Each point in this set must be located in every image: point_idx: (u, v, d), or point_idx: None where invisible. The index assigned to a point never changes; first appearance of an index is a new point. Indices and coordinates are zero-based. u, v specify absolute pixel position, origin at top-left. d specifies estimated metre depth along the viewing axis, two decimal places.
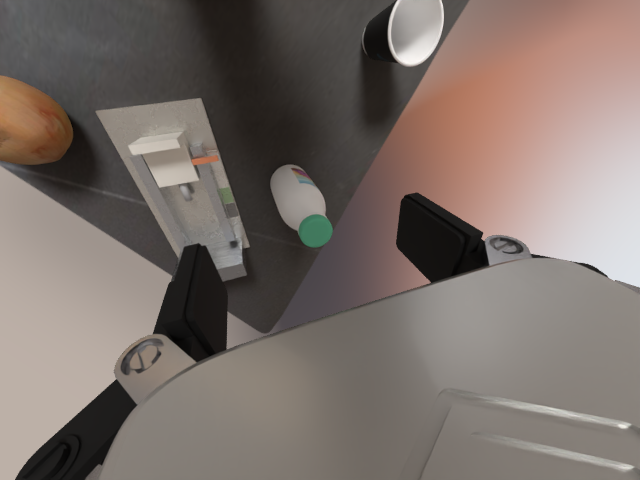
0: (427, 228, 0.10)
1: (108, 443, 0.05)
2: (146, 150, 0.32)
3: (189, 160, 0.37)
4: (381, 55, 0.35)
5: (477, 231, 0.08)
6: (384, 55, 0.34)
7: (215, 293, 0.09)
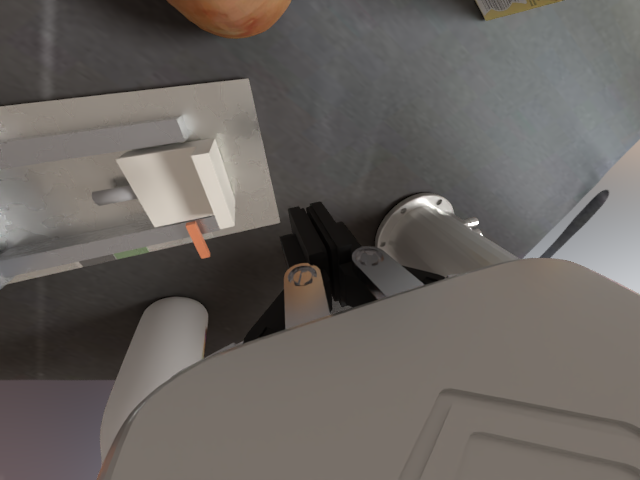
0: None
1: None
2: (205, 180, 0.17)
3: (192, 217, 0.22)
4: None
5: (347, 242, 0.08)
6: None
7: None
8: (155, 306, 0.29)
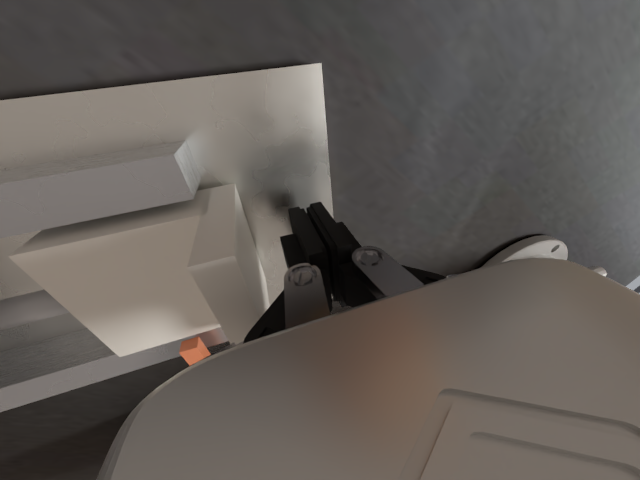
0: None
1: None
2: (223, 309, 0.07)
3: (192, 332, 0.11)
4: None
5: (347, 242, 0.08)
6: None
7: None
8: None
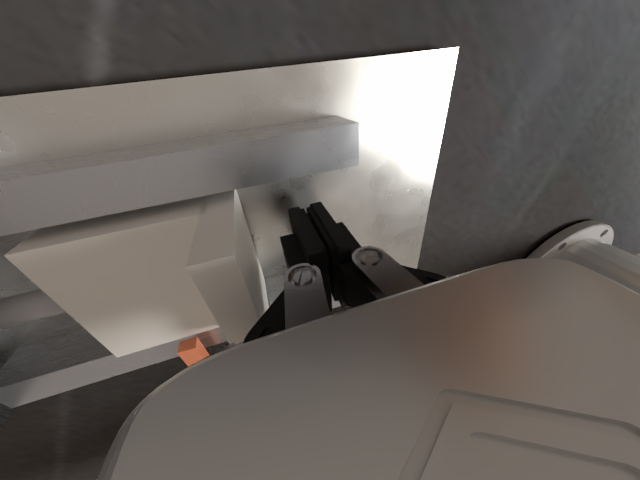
0: None
1: None
2: (222, 309, 0.07)
3: (190, 332, 0.11)
4: None
5: (347, 242, 0.08)
6: None
7: None
8: None
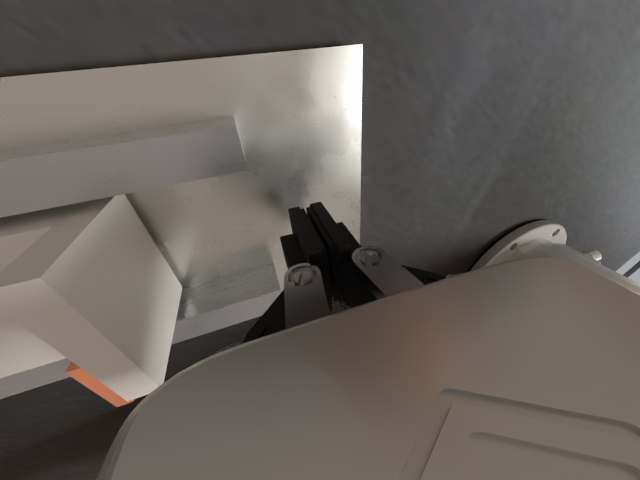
0: None
1: None
2: (53, 334, 0.06)
3: None
4: None
5: (347, 242, 0.08)
6: None
7: None
8: None
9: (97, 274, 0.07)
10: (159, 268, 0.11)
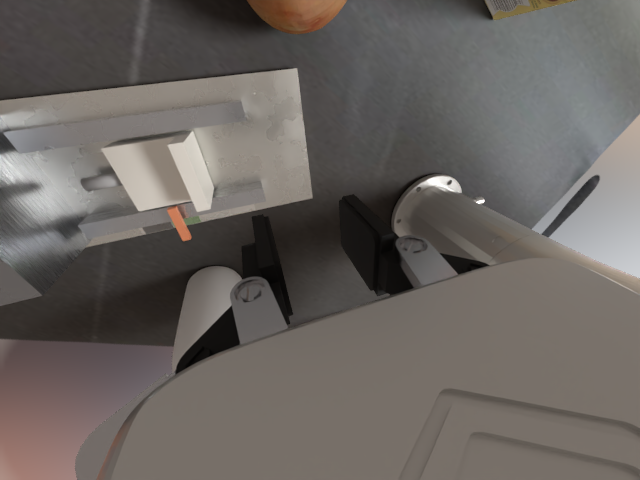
0: (356, 228, 0.10)
1: None
2: (181, 167, 0.20)
3: (173, 202, 0.24)
4: None
5: (390, 231, 0.09)
6: None
7: None
8: (201, 273, 0.32)
9: (191, 153, 0.21)
10: (205, 170, 0.25)
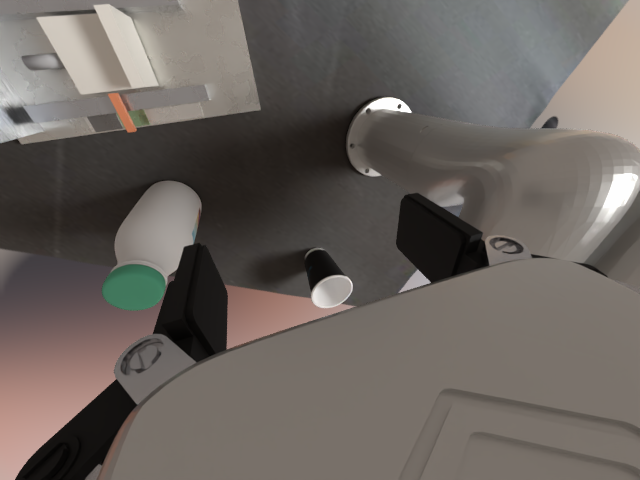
0: (427, 228, 0.10)
1: (108, 443, 0.05)
2: (110, 32, 0.21)
3: (114, 88, 0.25)
4: (311, 270, 0.45)
5: (477, 231, 0.08)
6: (313, 274, 0.44)
7: (215, 293, 0.09)
8: (156, 184, 0.34)
9: (122, 25, 0.22)
10: (146, 61, 0.26)
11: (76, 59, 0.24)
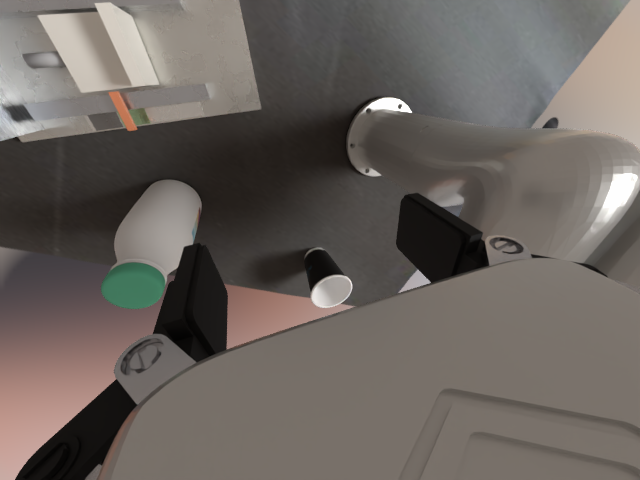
0: (427, 228, 0.10)
1: (108, 443, 0.05)
2: (111, 31, 0.21)
3: (115, 86, 0.25)
4: (311, 270, 0.45)
5: (477, 231, 0.08)
6: (312, 273, 0.44)
7: (215, 293, 0.09)
8: (156, 183, 0.34)
9: (123, 23, 0.22)
10: (147, 60, 0.26)
11: (77, 57, 0.24)
